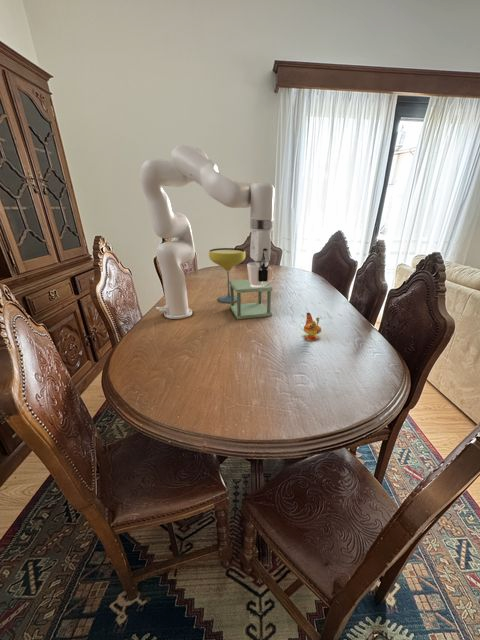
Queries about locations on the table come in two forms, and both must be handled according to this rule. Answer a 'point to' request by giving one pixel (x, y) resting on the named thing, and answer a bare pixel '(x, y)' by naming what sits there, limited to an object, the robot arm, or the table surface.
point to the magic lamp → (312, 328)
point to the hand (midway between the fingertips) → (260, 278)
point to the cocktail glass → (227, 263)
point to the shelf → (250, 308)
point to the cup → (255, 275)
